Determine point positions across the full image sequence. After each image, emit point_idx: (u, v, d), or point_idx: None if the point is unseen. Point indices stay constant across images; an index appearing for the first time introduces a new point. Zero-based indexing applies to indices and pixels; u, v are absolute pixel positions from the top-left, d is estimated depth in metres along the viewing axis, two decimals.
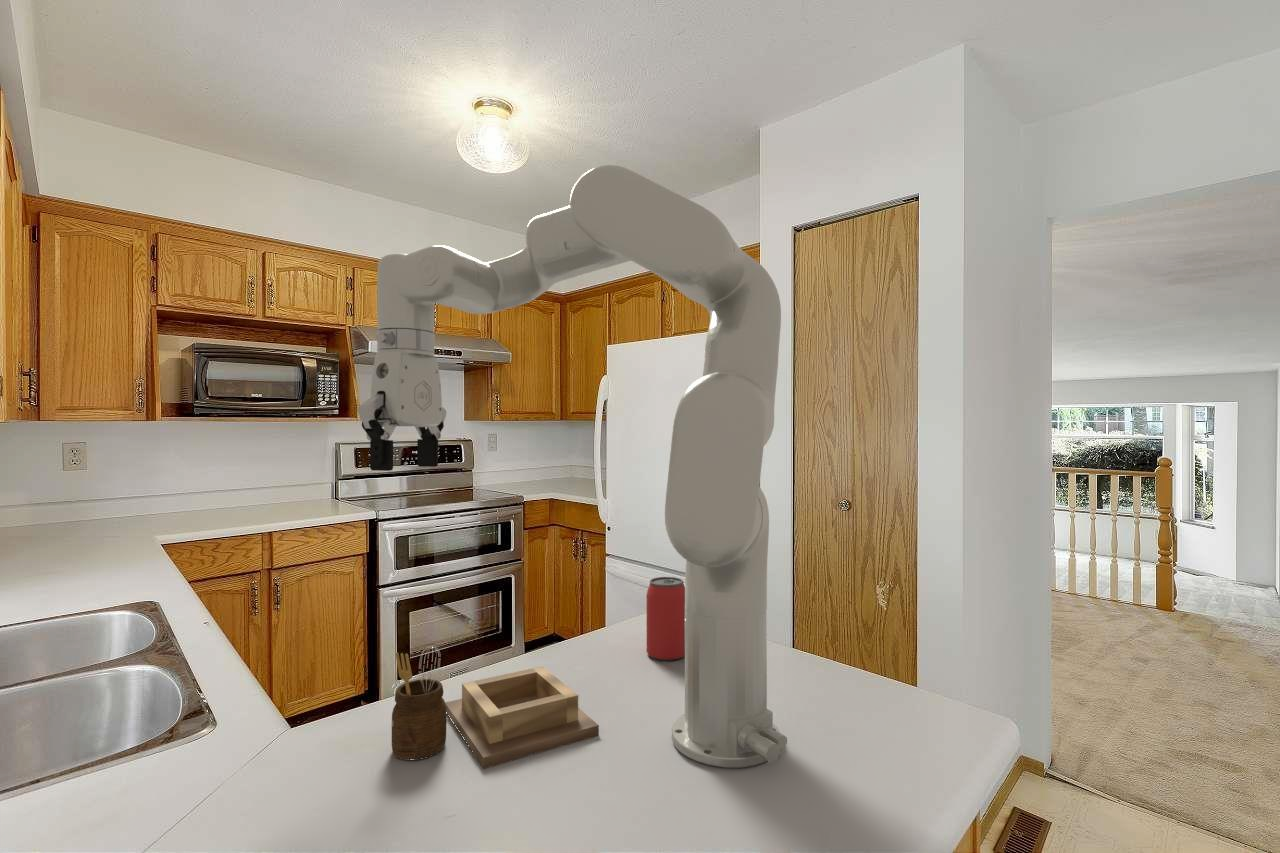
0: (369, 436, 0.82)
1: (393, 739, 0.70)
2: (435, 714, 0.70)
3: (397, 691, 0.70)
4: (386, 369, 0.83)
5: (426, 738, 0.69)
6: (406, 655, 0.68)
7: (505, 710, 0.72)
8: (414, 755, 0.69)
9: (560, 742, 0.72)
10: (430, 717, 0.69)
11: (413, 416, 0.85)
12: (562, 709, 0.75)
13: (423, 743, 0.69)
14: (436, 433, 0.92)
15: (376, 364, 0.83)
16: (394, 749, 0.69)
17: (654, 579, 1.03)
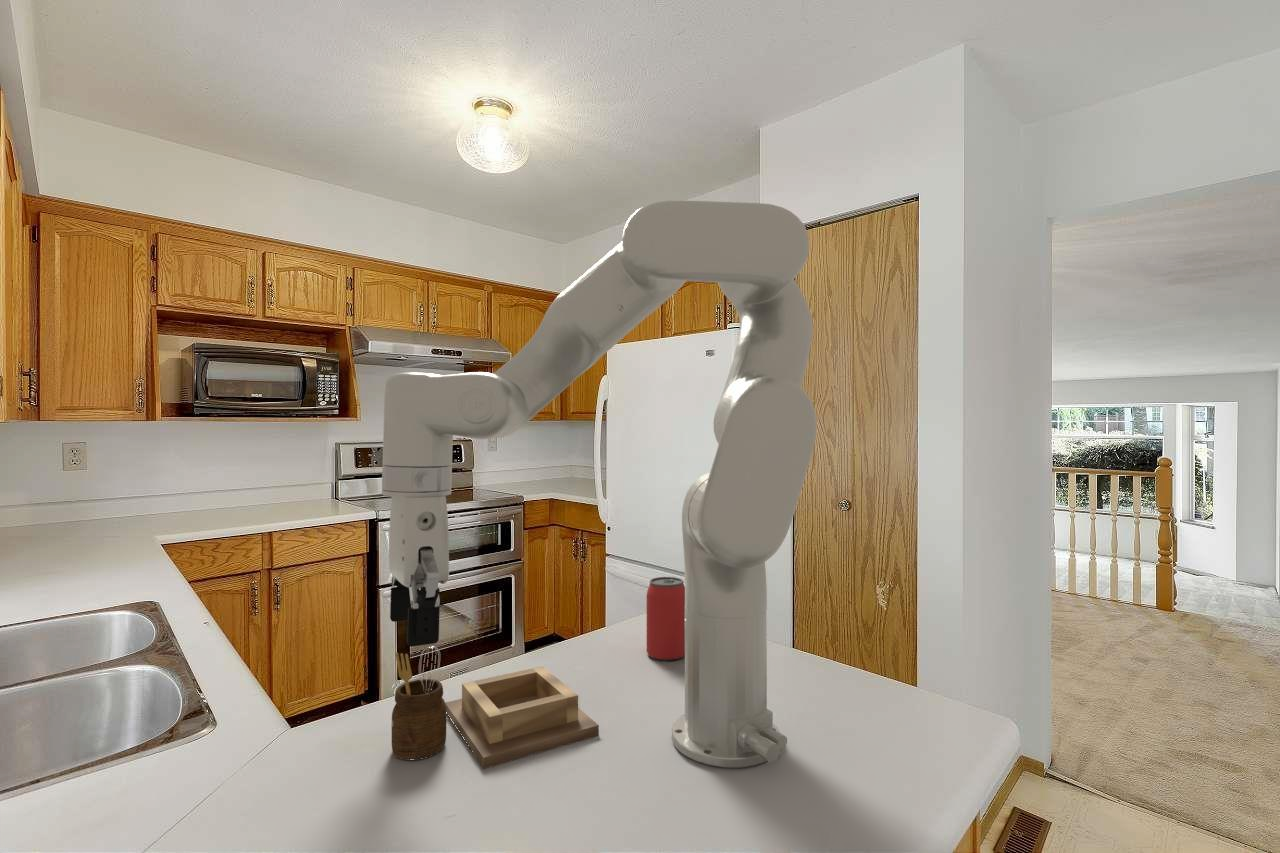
0: (419, 606, 0.66)
1: (393, 739, 0.70)
2: (435, 714, 0.70)
3: (397, 691, 0.70)
4: (427, 518, 0.68)
5: (426, 738, 0.69)
6: (406, 655, 0.68)
7: (505, 710, 0.72)
8: (414, 755, 0.69)
9: (560, 742, 0.72)
10: (430, 717, 0.69)
11: None
12: (562, 709, 0.75)
13: (423, 743, 0.69)
14: None
15: (414, 513, 0.67)
16: (394, 749, 0.69)
17: (654, 579, 1.03)
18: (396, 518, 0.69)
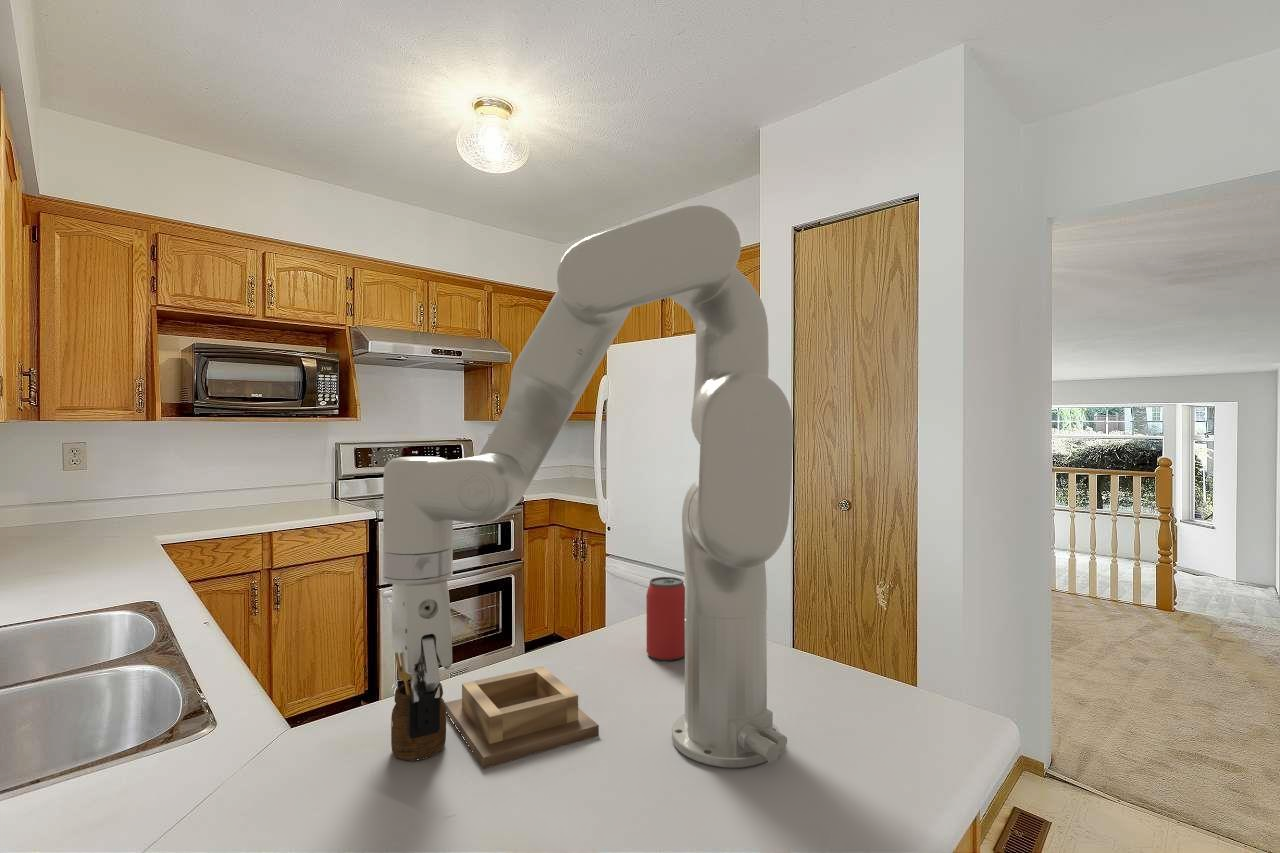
0: (419, 700, 0.67)
1: (393, 739, 0.69)
2: None
3: (397, 691, 0.70)
4: (429, 605, 0.68)
5: (426, 738, 0.69)
6: None
7: (505, 710, 0.72)
8: (414, 755, 0.69)
9: (560, 742, 0.72)
10: None
11: None
12: (562, 709, 0.75)
13: (423, 743, 0.69)
14: None
15: (416, 601, 0.67)
16: (394, 749, 0.69)
17: (654, 579, 1.03)
18: (398, 605, 0.69)
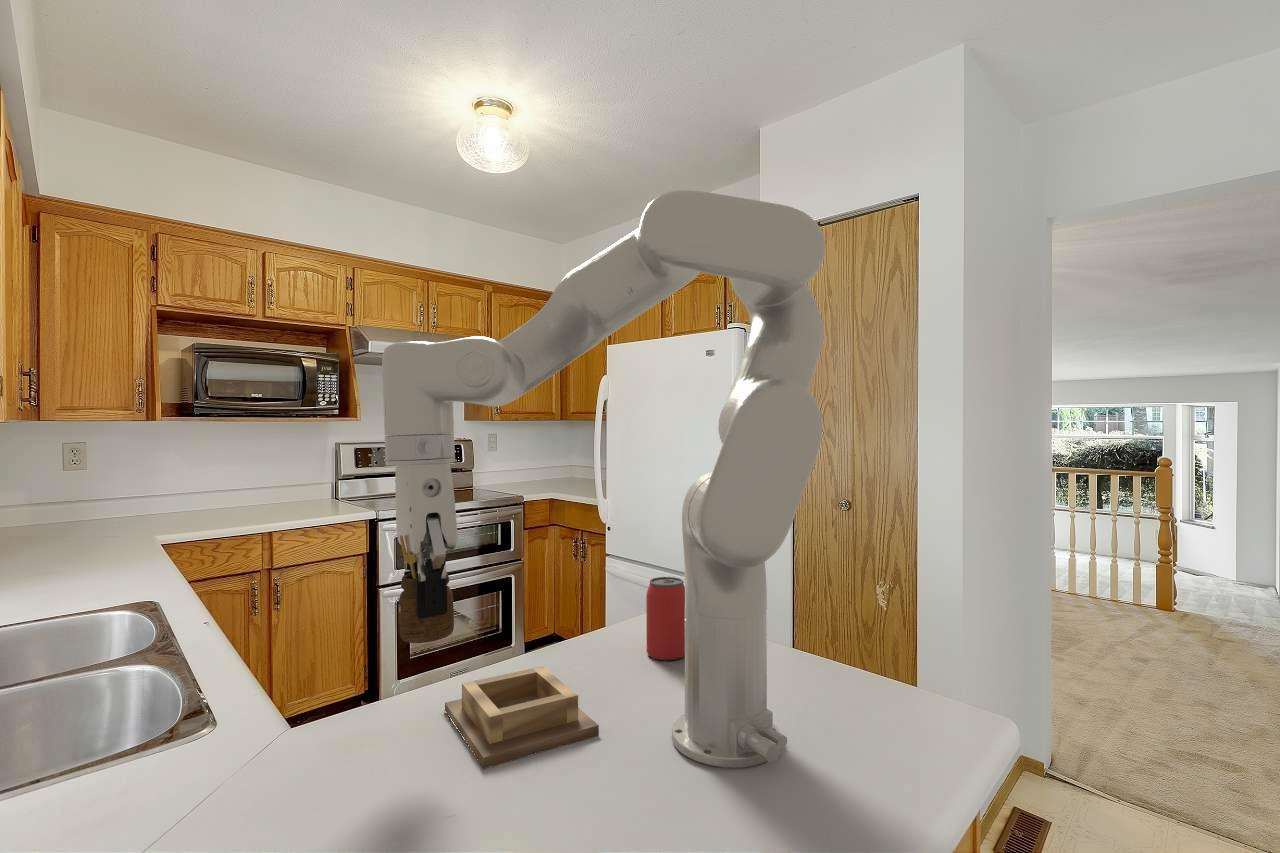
0: (426, 578, 0.67)
1: (401, 624, 0.70)
2: None
3: (403, 577, 0.71)
4: (432, 485, 0.68)
5: (434, 620, 0.69)
6: None
7: (505, 710, 0.72)
8: (422, 637, 0.69)
9: (560, 742, 0.72)
10: None
11: None
12: (562, 709, 0.75)
13: (431, 625, 0.69)
14: None
15: (419, 480, 0.67)
16: (402, 633, 0.69)
17: (654, 579, 1.03)
18: (401, 487, 0.69)
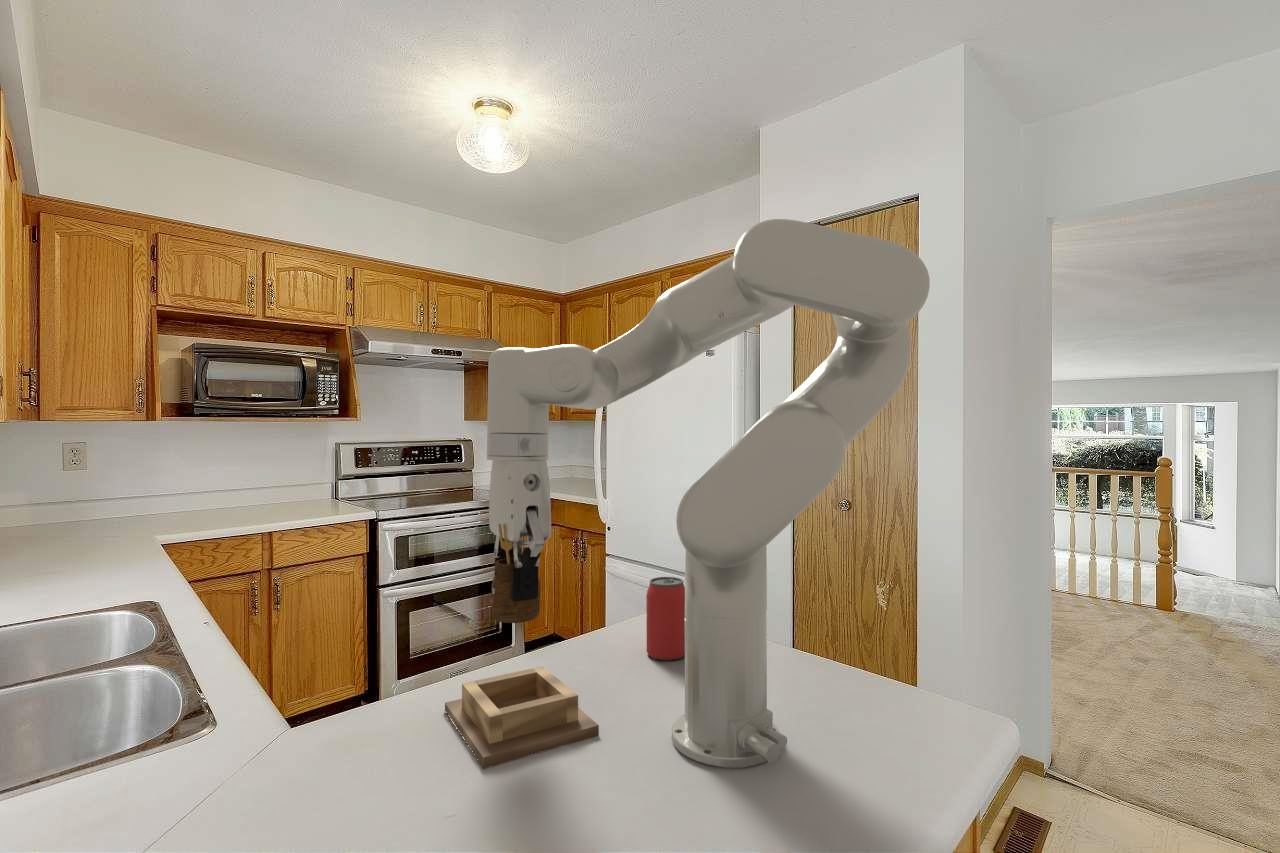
0: (522, 565, 0.74)
1: (494, 605, 0.76)
2: None
3: (497, 562, 0.77)
4: (532, 480, 0.74)
5: (525, 603, 0.75)
6: None
7: (505, 710, 0.72)
8: (515, 618, 0.75)
9: (560, 742, 0.72)
10: None
11: None
12: (562, 709, 0.75)
13: (523, 607, 0.75)
14: None
15: (521, 475, 0.73)
16: (495, 614, 0.76)
17: (654, 579, 1.03)
18: (502, 481, 0.75)
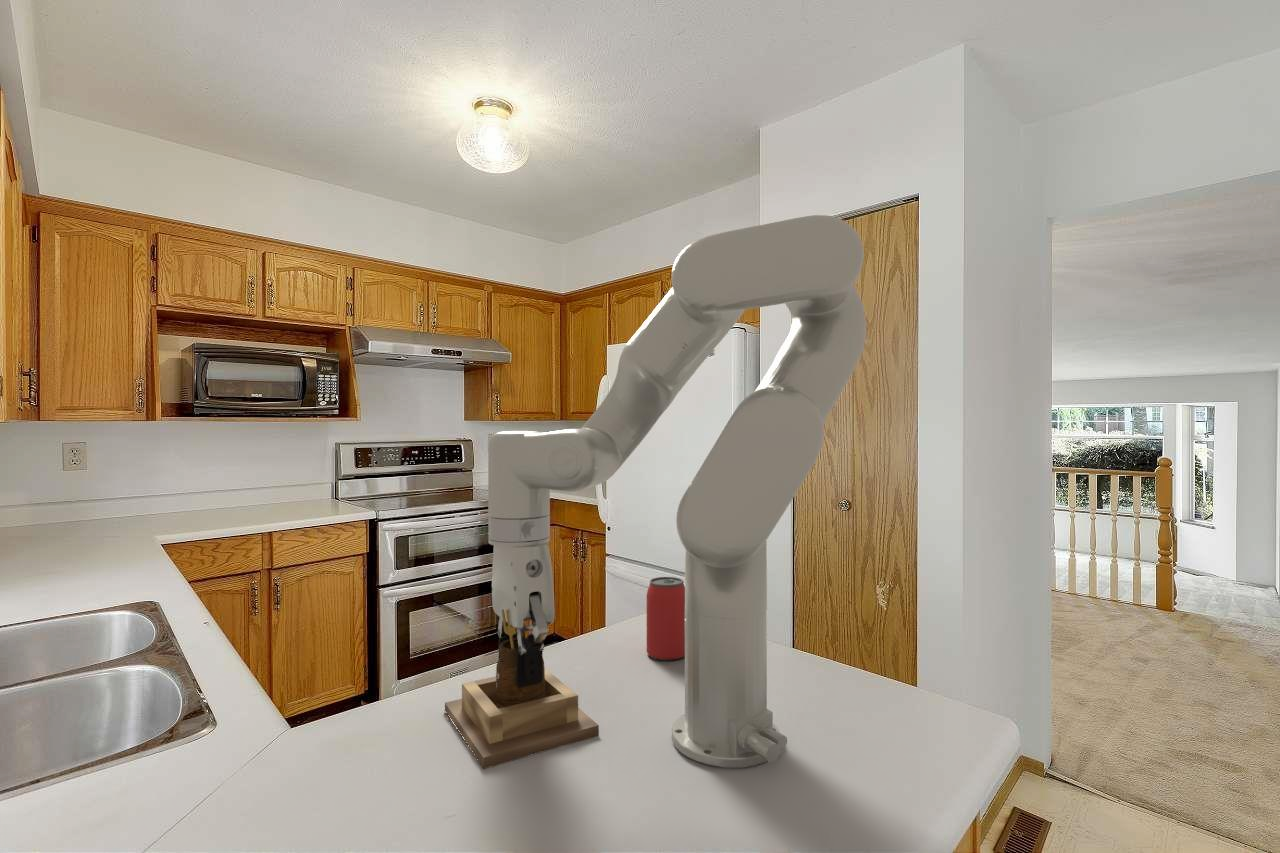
0: (526, 651, 0.74)
1: (499, 690, 0.76)
2: None
3: (501, 646, 0.77)
4: (534, 565, 0.74)
5: (530, 688, 0.75)
6: None
7: (505, 710, 0.72)
8: (520, 703, 0.75)
9: (560, 742, 0.72)
10: None
11: None
12: (562, 709, 0.75)
13: (528, 692, 0.75)
14: None
15: (524, 561, 0.73)
16: (500, 699, 0.76)
17: (654, 579, 1.03)
18: (504, 566, 0.75)
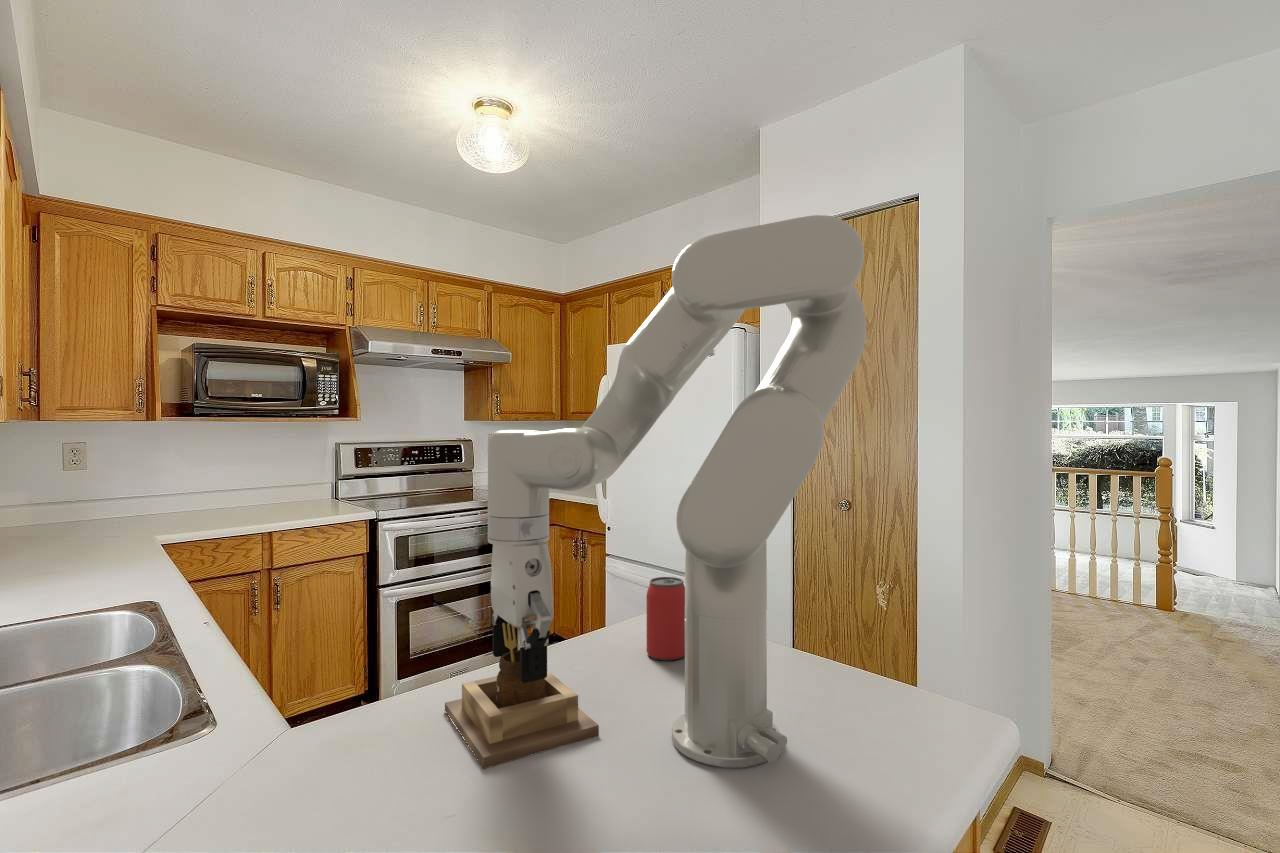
0: (531, 646, 0.72)
1: (499, 703, 0.76)
2: (537, 680, 0.76)
3: (501, 659, 0.77)
4: (533, 564, 0.74)
5: None
6: None
7: (505, 710, 0.72)
8: None
9: (560, 742, 0.72)
10: (533, 683, 0.76)
11: None
12: (562, 709, 0.75)
13: None
14: None
15: (523, 560, 0.73)
16: None
17: (654, 579, 1.03)
18: (504, 564, 0.75)
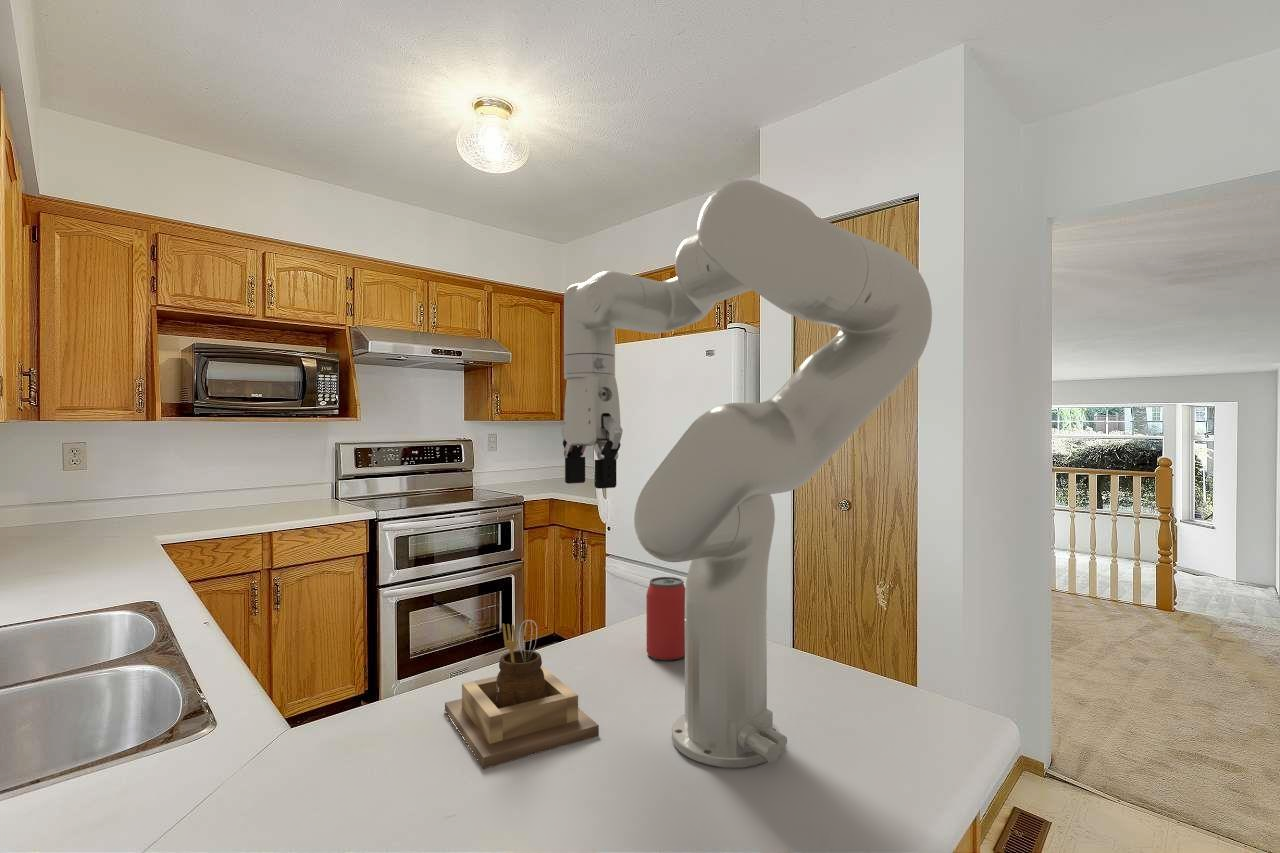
0: (604, 456, 0.86)
1: (499, 703, 0.76)
2: (537, 681, 0.76)
3: (501, 660, 0.77)
4: (605, 392, 0.89)
5: None
6: (512, 626, 0.75)
7: (505, 710, 0.72)
8: None
9: (560, 742, 0.72)
10: (533, 683, 0.76)
11: None
12: (562, 709, 0.75)
13: None
14: None
15: (596, 387, 0.88)
16: None
17: (654, 579, 1.03)
18: (579, 394, 0.89)
